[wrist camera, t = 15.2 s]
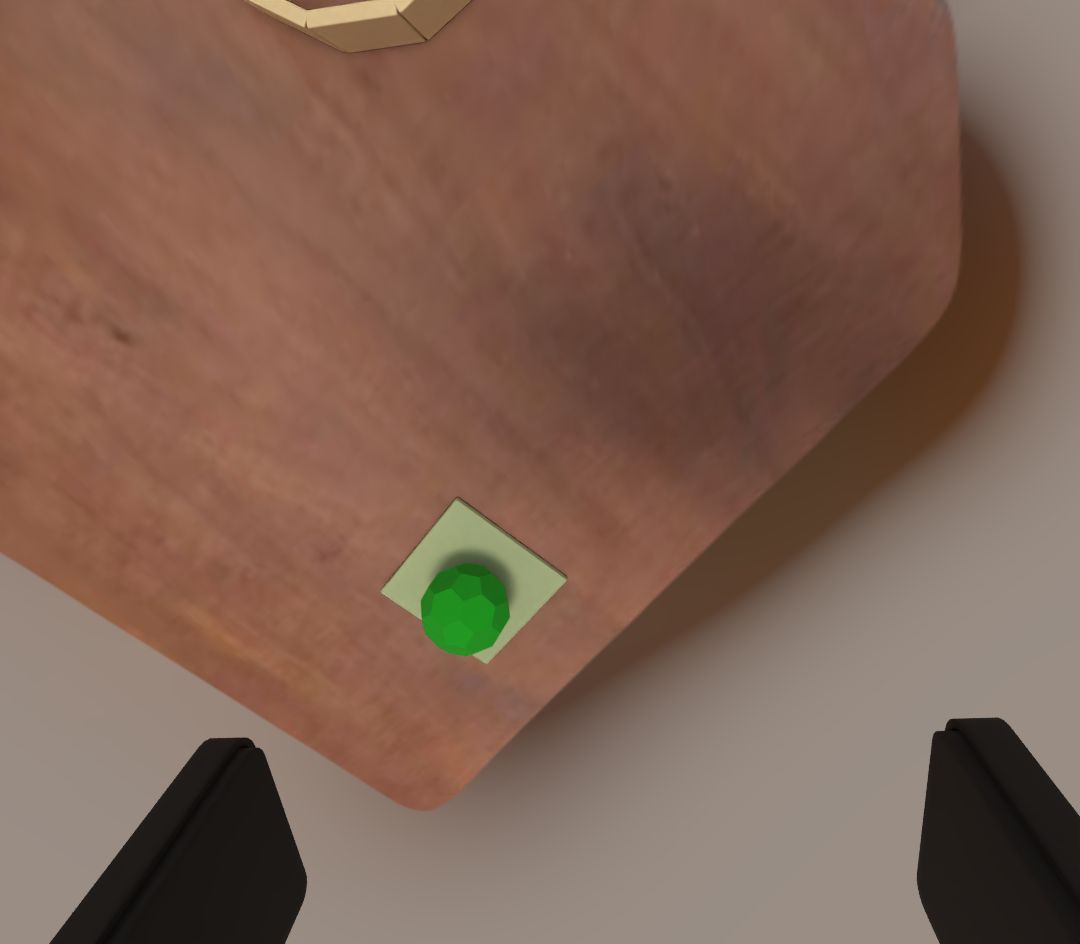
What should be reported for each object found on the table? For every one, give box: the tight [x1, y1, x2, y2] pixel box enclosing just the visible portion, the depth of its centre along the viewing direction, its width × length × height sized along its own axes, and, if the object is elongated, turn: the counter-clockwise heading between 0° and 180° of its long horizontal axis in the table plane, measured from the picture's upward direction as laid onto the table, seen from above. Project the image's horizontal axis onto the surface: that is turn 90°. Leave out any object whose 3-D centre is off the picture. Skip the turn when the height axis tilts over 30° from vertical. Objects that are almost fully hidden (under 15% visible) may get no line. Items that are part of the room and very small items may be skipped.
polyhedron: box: [421, 563, 510, 656], centre depth 37 cm, size 5×5×5 cm
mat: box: [381, 497, 567, 664], centre depth 39 cm, size 8×8×1 cm
